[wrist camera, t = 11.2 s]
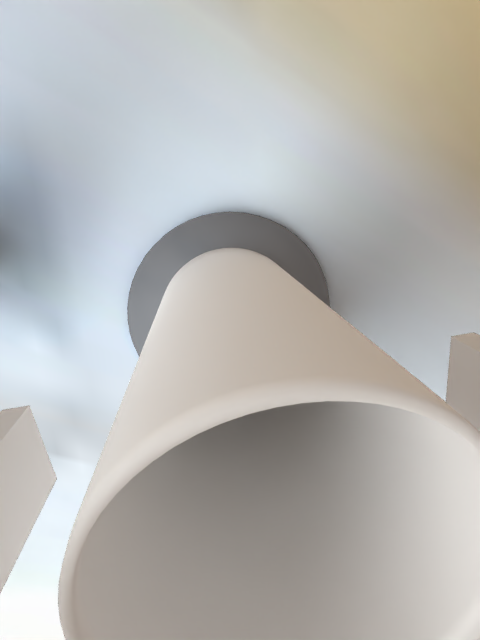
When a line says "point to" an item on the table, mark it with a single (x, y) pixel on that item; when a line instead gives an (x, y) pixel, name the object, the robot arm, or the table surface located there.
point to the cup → (274, 480)
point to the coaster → (208, 237)
